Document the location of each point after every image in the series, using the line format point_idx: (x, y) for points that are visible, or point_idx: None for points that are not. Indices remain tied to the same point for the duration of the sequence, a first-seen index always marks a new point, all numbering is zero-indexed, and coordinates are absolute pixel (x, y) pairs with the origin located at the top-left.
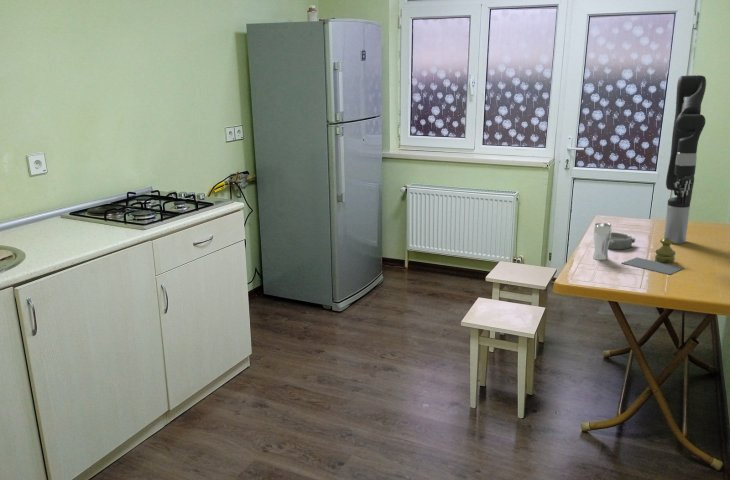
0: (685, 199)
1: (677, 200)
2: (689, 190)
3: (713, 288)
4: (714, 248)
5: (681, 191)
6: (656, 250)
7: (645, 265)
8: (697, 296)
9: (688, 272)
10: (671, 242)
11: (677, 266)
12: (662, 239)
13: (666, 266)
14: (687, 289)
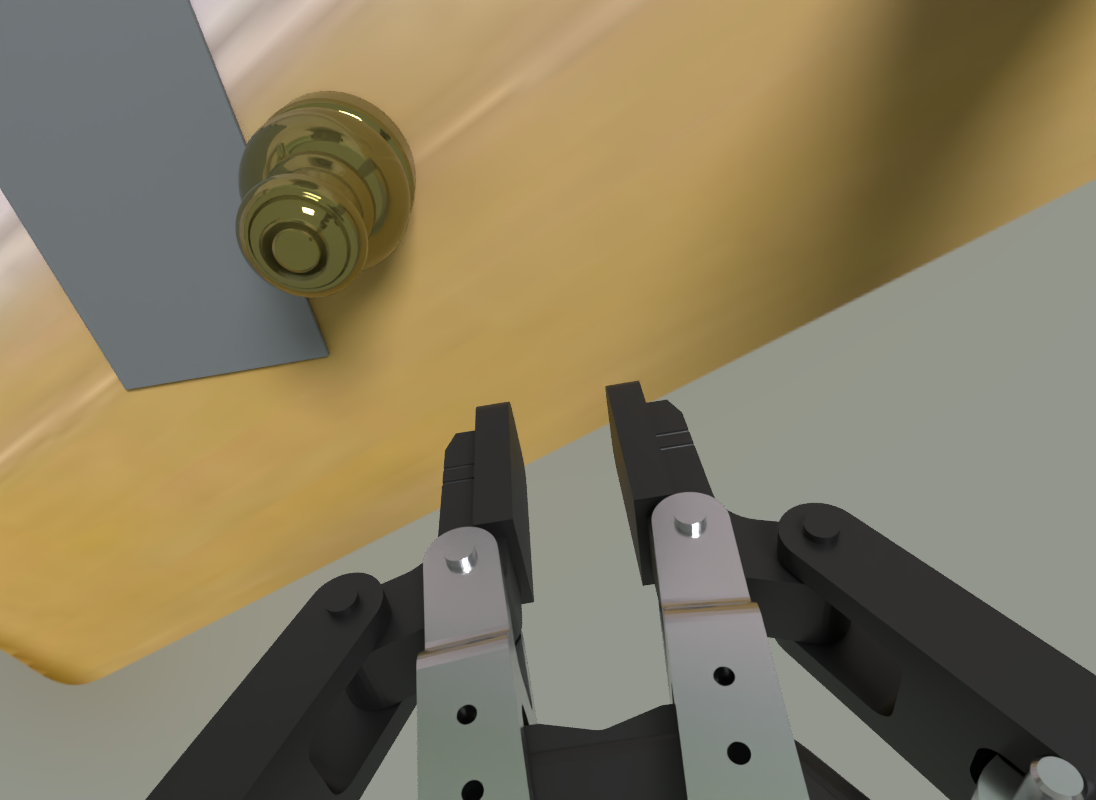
0: (631, 528)
1: (444, 491)
2: (825, 667)
3: (200, 590)
4: (1023, 155)
5: (661, 588)
6: (256, 140)
7: (76, 178)
8: (35, 615)
9: (288, 408)
10: (303, 296)
11: (307, 317)
12: (261, 214)
13: (229, 279)
14: (54, 555)
